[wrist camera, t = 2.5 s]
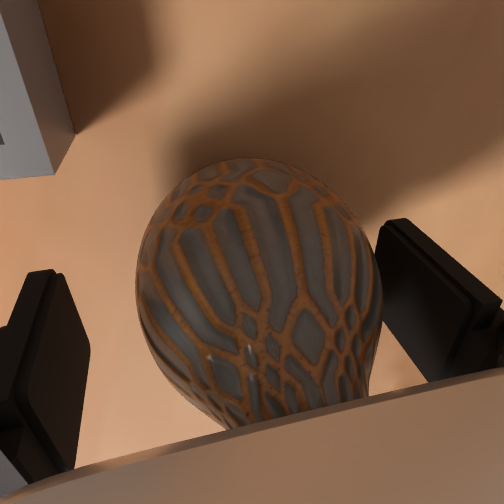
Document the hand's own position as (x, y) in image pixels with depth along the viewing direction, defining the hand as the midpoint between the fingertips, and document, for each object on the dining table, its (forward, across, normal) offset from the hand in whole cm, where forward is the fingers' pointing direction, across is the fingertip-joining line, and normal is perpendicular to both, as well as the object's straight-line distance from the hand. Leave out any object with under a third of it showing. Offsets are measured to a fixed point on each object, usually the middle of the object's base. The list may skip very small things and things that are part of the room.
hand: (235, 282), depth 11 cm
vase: (+4, -1, 0) cm, 4 cm away
